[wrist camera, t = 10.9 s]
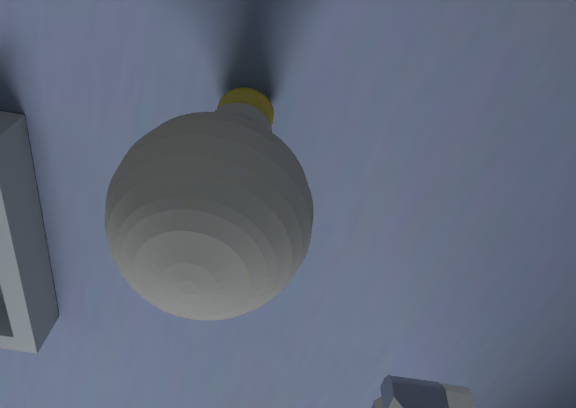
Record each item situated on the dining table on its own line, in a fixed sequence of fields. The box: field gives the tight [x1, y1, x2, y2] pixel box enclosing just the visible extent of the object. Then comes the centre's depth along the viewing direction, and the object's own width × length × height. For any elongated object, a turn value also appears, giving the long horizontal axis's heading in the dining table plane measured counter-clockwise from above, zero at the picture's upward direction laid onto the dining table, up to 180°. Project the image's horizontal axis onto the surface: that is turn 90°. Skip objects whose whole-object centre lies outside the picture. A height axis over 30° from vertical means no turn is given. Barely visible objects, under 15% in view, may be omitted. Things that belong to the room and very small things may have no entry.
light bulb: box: [105, 87, 313, 320], centre depth 16 cm, size 5×5×10 cm
